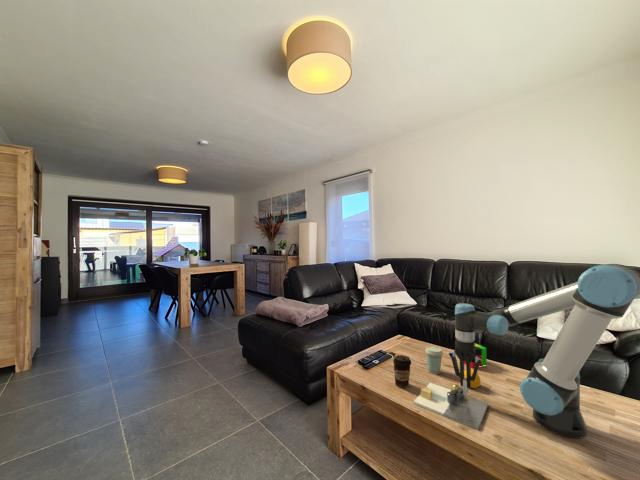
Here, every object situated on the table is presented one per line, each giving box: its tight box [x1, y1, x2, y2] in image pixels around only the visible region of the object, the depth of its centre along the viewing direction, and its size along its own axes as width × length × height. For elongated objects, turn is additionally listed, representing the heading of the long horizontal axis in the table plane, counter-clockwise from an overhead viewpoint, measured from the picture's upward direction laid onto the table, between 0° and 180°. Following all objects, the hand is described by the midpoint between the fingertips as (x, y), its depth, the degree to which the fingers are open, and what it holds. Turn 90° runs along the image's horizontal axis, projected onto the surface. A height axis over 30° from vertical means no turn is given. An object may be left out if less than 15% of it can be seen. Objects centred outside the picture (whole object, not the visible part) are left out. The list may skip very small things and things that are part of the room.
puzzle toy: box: [457, 343, 488, 369], centre depth 150 cm, size 10×10×10 cm
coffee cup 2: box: [425, 345, 444, 375], centre depth 140 cm, size 8×8×12 cm
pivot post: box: [447, 392, 455, 404], centre depth 112 cm, size 3×3×4 cm
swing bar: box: [450, 383, 464, 401], centre depth 116 cm, size 9×3×5 cm, turn 129°
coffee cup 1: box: [392, 354, 412, 389], centre depth 127 cm, size 9×8×13 cm
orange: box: [464, 369, 482, 389], centre depth 126 cm, size 8×8×8 cm
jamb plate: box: [443, 395, 489, 431], centre depth 108 cm, size 12×20×1 cm, turn 139°
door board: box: [413, 382, 452, 417], centre depth 116 cm, size 12×20×4 cm, turn 139°
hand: (465, 394), depth 115 cm, fingers closed
